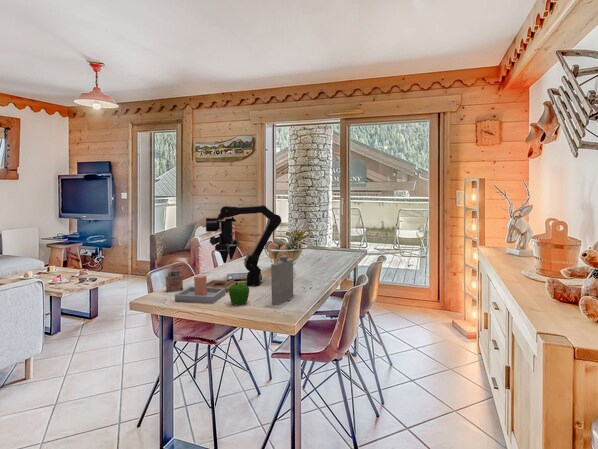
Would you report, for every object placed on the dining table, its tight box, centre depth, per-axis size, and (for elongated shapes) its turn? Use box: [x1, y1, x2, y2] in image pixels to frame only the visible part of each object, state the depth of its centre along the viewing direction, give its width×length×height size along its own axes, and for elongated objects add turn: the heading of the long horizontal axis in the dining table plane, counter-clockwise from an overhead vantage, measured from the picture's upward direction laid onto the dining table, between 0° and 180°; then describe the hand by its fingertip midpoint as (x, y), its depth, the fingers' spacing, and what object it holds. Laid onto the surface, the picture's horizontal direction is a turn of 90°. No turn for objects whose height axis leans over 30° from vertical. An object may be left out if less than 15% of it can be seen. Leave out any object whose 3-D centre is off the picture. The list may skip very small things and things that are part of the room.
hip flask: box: [270, 254, 294, 306], centre depth 160 cm, size 16×4×20 cm, turn 152°
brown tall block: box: [193, 274, 208, 296], centre depth 164 cm, size 4×4×9 cm
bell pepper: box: [228, 280, 250, 306], centre depth 156 cm, size 8×8×10 cm
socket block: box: [207, 279, 239, 294], centre depth 181 cm, size 14×14×2 cm
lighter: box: [165, 269, 184, 293], centre depth 176 cm, size 8×3×10 cm, turn 118°
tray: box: [174, 286, 226, 305], centre depth 165 cm, size 18×14×3 cm
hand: (228, 261), depth 183 cm, fingers open, 9 cm apart
